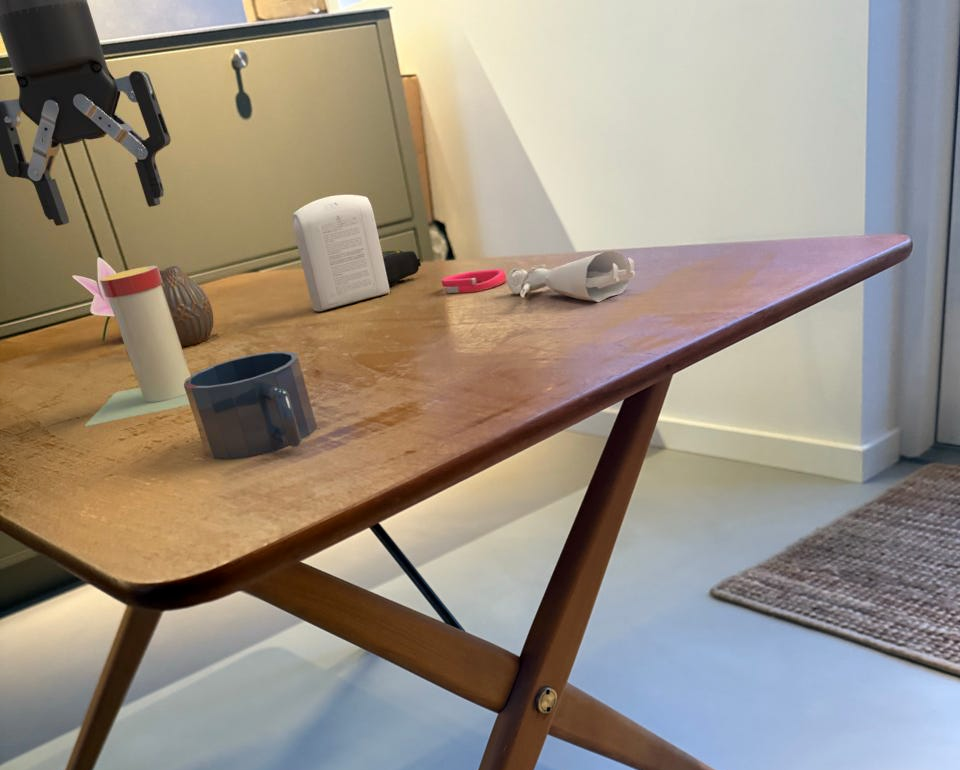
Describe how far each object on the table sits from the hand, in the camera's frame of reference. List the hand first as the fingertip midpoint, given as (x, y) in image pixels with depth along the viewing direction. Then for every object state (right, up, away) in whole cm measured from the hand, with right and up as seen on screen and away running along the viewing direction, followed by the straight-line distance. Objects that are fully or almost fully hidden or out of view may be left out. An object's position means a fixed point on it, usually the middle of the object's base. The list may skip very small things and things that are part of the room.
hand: (108, 215), depth 93 cm
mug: (+17, -23, -13) cm, 32 cm away
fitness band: (+33, +4, +30) cm, 45 cm away
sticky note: (+3, -15, +8) cm, 17 cm away
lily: (-13, +2, +45) cm, 47 cm away
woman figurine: (+43, -2, +16) cm, 46 cm away
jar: (+3, -14, +8) cm, 17 cm away
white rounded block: (+18, +4, +37) cm, 41 cm away
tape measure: (+22, +8, +43) cm, 49 cm away
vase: (-2, -2, +33) cm, 33 cm away
